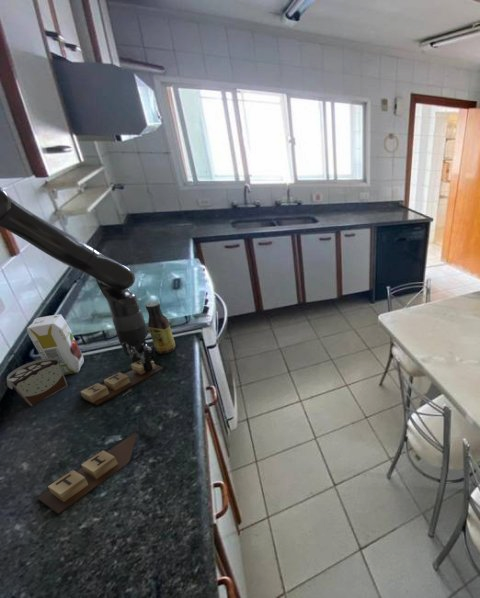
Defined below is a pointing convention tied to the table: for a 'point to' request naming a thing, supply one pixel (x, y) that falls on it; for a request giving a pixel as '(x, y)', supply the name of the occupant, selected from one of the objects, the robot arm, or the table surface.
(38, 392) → the food container
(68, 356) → the juice carton
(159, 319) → the sauce bottle
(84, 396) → the right word rack
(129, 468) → the table surface
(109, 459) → the left word rack
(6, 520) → the table surface
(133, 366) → the s tile
